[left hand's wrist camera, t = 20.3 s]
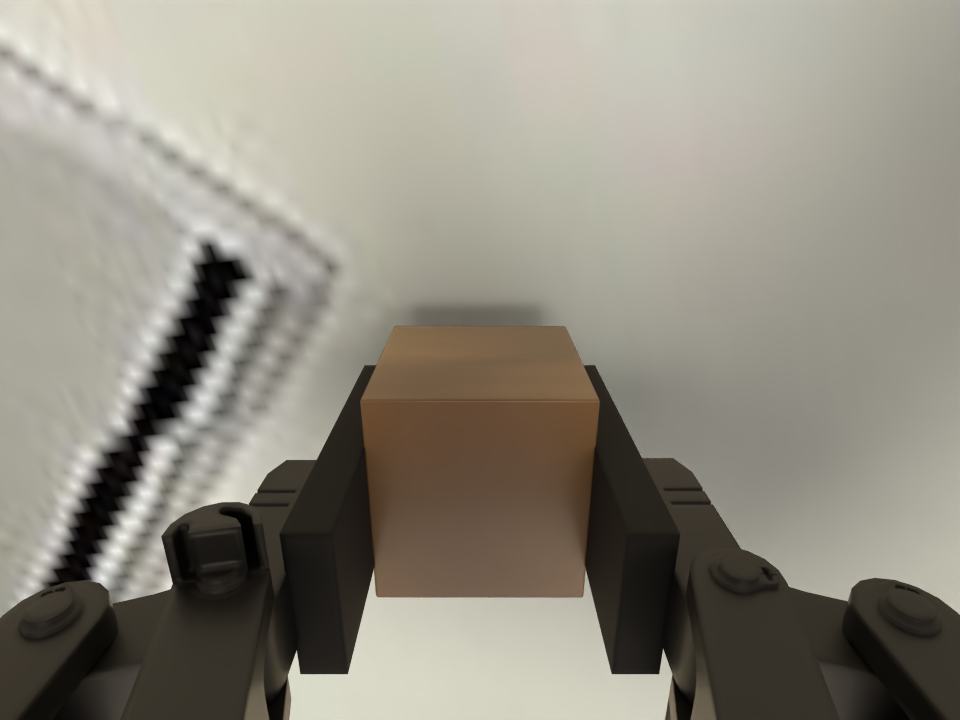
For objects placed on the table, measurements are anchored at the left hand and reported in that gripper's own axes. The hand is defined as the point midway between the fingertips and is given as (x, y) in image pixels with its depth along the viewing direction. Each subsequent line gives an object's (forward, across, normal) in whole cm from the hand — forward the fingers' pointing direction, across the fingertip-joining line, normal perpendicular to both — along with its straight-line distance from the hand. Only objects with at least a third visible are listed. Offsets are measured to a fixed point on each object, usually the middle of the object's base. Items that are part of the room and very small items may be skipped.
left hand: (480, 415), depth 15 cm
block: (0, 0, 0) cm, 0 cm away
